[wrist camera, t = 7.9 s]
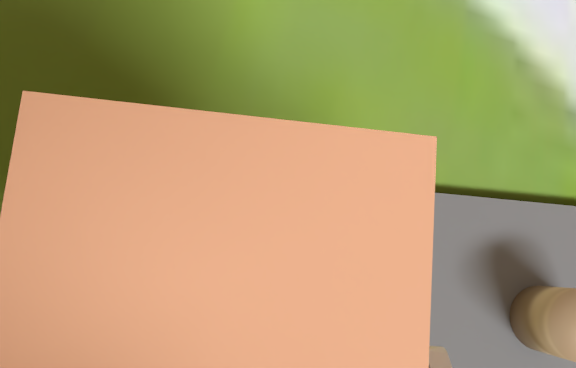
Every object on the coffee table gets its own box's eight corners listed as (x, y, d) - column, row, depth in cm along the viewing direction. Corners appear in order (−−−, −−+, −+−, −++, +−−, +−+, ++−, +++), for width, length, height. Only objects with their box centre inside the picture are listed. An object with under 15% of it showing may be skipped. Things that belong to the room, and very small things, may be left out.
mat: (418, 432, 22) (422, 436, 22) (426, 193, 24) (430, 192, 24) (645, 445, 23) (654, 449, 22) (636, 213, 25) (644, 212, 24)
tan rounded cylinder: (497, 318, 23) (534, 326, 20) (536, 272, 23) (578, 273, 20) (544, 365, 23) (589, 380, 20) (582, 317, 23) (631, 325, 20)
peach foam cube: (99, 400, 14) (-63, 568, 7) (130, 175, 16) (22, 91, 8) (324, 413, 15) (421, 579, 7) (339, 196, 16) (436, 136, 8)
